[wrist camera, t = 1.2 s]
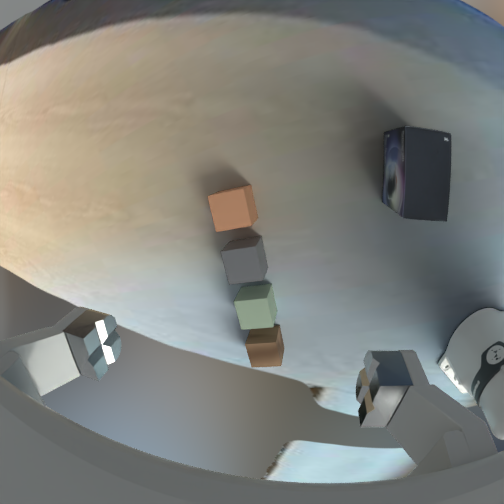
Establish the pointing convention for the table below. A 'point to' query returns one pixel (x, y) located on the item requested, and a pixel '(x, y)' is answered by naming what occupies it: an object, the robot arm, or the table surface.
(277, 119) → the table surface
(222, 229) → the terracotta block
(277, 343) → the walnut block
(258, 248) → the charcoal block
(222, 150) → the table surface
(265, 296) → the sage block
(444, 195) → the small box
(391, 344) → the table surface
